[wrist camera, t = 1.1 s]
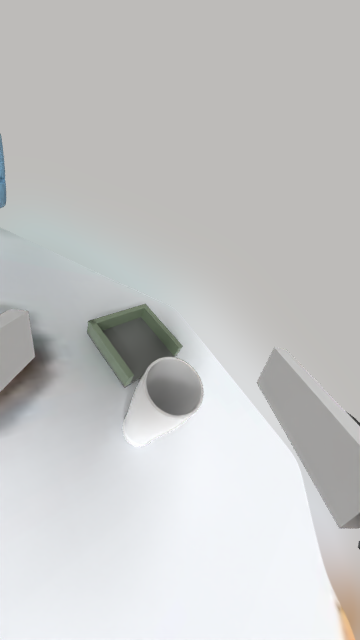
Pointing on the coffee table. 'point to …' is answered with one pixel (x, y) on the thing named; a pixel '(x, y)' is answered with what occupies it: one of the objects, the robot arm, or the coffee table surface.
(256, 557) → the coffee table surface
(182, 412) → the drinking glass
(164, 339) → the tray
